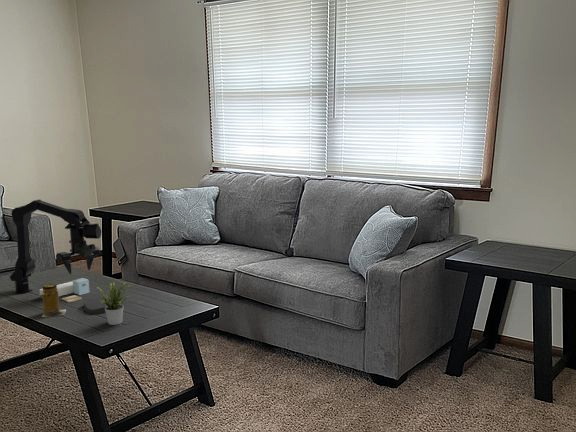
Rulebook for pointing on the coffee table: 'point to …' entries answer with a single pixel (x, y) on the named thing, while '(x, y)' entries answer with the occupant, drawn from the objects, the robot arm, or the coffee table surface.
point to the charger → (81, 286)
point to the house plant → (114, 304)
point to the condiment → (51, 301)
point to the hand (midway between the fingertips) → (79, 271)
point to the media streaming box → (96, 305)
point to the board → (71, 298)
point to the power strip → (61, 289)
